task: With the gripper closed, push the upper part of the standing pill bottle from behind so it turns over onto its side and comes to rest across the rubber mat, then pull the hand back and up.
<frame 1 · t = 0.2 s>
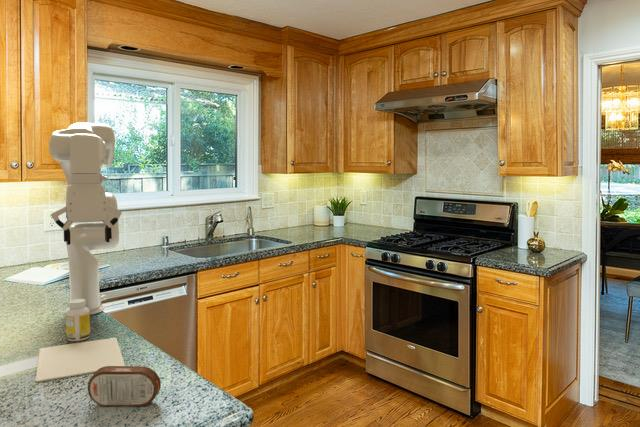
hand: (88, 242, 133), 31 cm above the countertop, tool pointing down, fingers open, 9 cm apart
mat: (80, 358, 132), on the countertop
pill bottle: (78, 339, 147), on the countertop
tin: (124, 406, 106), on the countertop
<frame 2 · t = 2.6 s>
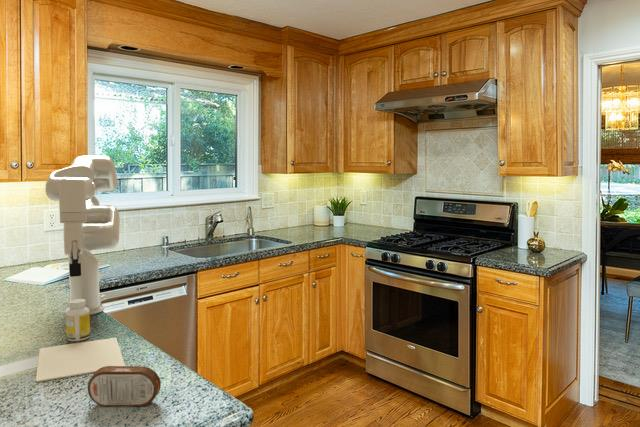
hand: (75, 275, 153), 17 cm above the countertop, tool pointing down, fingers closed
nothing on the countertop moved.
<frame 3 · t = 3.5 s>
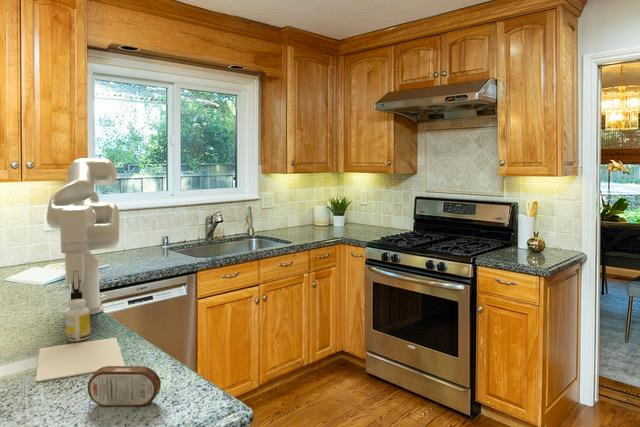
hand: (76, 304, 154), 8 cm above the countertop, tool pointing down, fingers closed
nothing on the countertop moved.
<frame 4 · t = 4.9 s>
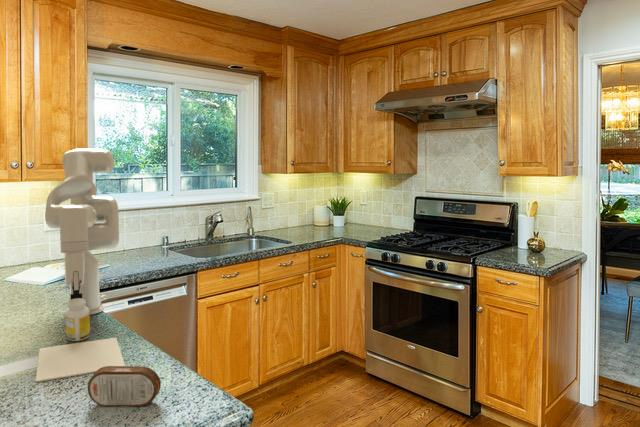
hand: (76, 306, 148), 9 cm above the countertop, tool pointing down, fingers closed
pill bottle: (78, 337, 147), on the countertop, touching gripper
everything else where it was.
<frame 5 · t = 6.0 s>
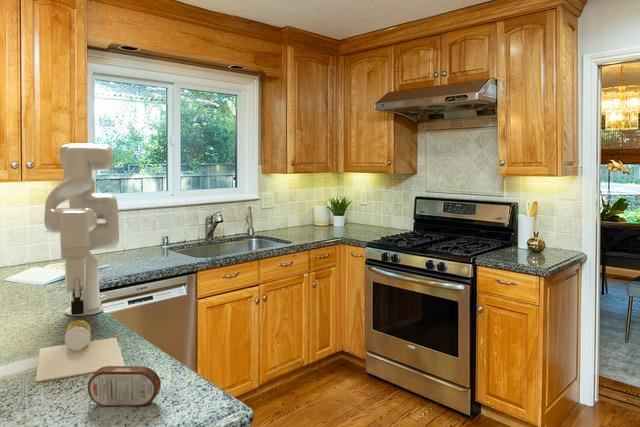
hand: (77, 313, 144), 8 cm above the countertop, tool pointing down, fingers closed
pill bottle: (78, 329, 144), point 4 cm above the countertop, touching mat
everything else where it was.
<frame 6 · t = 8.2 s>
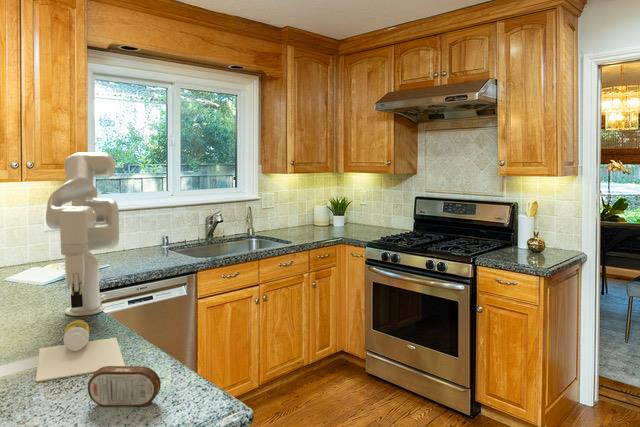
hand: (76, 306, 152), 8 cm above the countertop, tool pointing down, fingers closed
nothing on the countertop moved.
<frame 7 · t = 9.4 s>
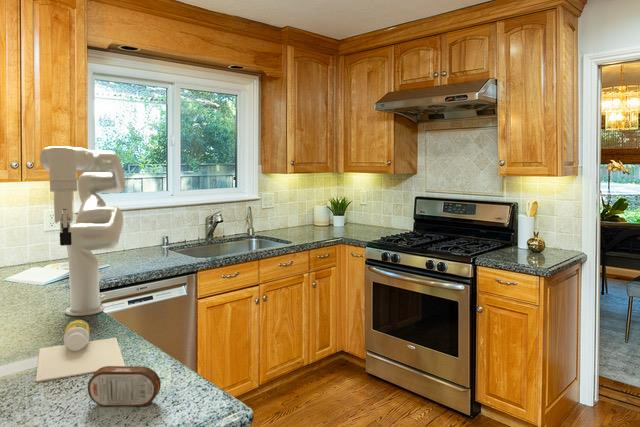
hand: (65, 244, 153), 27 cm above the countertop, tool pointing down, fingers closed
nothing on the countertop moved.
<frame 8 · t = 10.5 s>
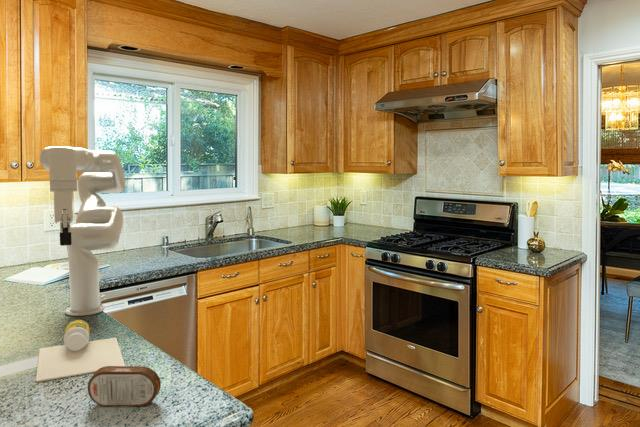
hand: (65, 244, 153), 27 cm above the countertop, tool pointing down, fingers closed
nothing on the countertop moved.
at the end: pill bottle tilted 90°; pill bottle touching mat; the gripper is holding nothing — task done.
